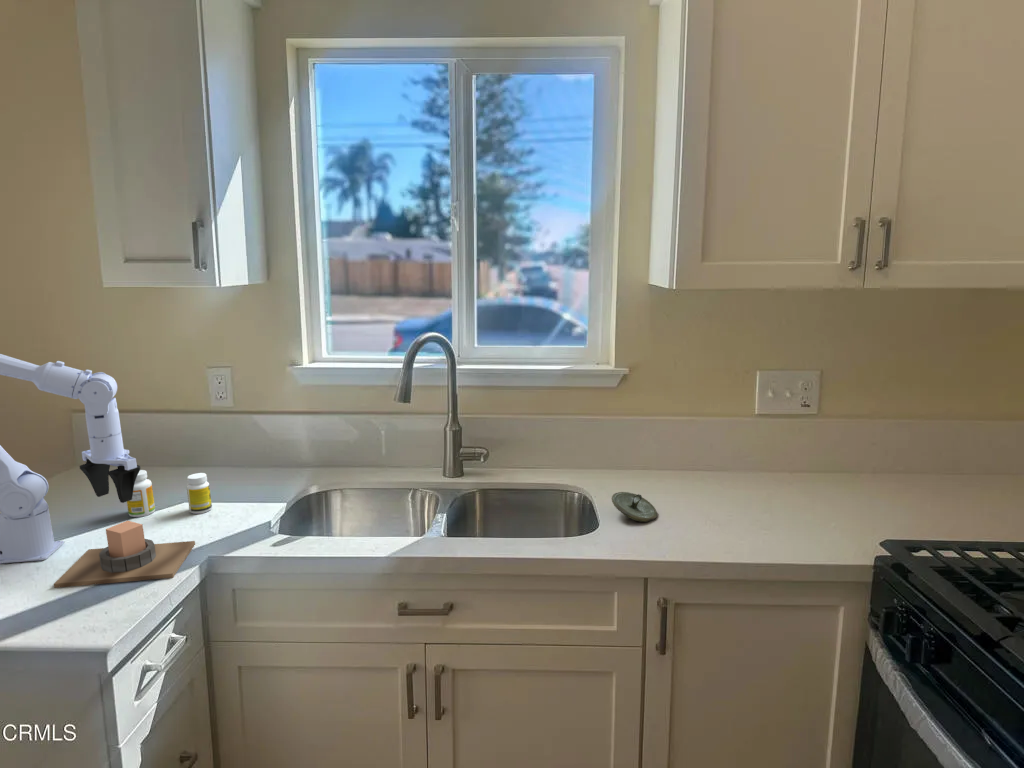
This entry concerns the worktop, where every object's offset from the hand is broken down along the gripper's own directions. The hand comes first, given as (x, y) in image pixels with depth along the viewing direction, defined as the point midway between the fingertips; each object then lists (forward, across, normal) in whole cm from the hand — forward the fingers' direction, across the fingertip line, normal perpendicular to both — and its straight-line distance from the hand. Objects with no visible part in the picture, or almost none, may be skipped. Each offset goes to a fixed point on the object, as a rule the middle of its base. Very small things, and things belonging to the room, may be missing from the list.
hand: (114, 498), depth 137 cm
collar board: (+9, -12, +6) cm, 16 cm away
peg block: (+9, -12, +6) cm, 16 cm away
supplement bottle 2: (+10, -2, -18) cm, 21 cm away
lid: (+10, -93, -57) cm, 109 cm away
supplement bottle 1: (+10, +10, -12) cm, 18 cm away
